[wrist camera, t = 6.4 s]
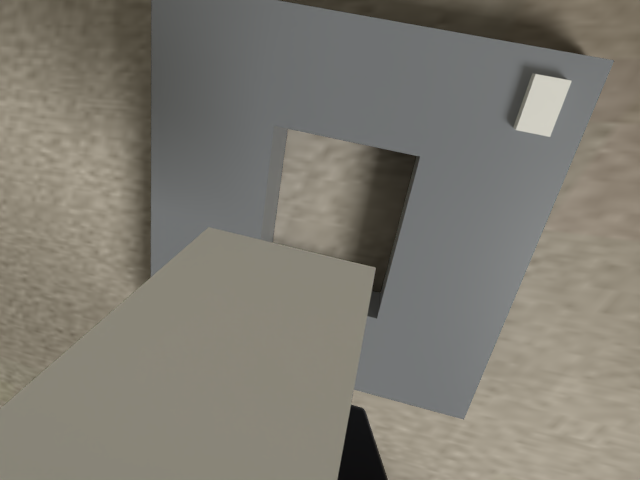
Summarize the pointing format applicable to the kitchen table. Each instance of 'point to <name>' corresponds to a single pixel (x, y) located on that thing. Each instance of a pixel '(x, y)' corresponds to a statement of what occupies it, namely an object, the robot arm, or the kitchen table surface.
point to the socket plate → (382, 132)
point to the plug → (203, 374)
